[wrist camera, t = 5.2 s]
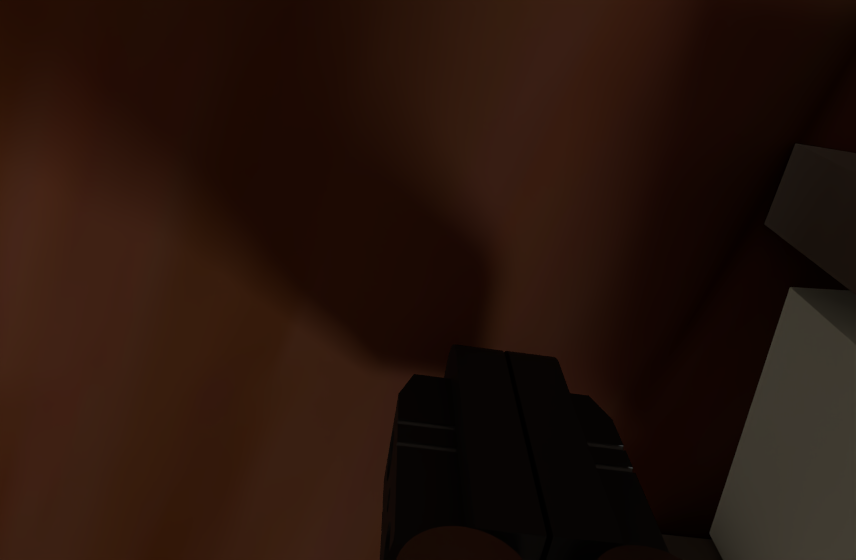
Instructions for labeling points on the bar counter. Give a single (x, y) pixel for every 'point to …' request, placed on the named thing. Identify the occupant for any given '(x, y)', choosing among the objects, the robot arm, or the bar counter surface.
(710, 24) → the bar counter surface
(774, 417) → the blank block
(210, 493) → the bar counter surface
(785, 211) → the slot rack
